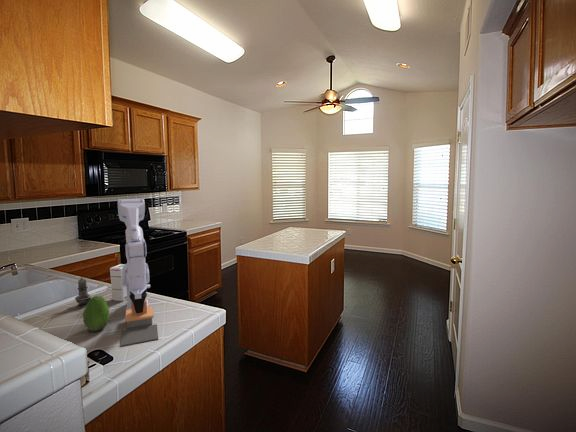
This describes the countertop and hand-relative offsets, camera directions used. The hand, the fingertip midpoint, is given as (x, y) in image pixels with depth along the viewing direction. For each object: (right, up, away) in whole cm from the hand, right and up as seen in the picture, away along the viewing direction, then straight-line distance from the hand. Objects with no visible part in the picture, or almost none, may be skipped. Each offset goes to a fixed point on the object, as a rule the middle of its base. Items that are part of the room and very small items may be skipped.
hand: (139, 310), depth 117 cm
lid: (0, -1, 0) cm, 1 cm away
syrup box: (-18, -2, +23) cm, 29 cm away
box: (0, -4, +1) cm, 4 cm away
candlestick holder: (-30, -2, +15) cm, 34 cm away
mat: (+4, -6, -8) cm, 11 cm away
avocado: (-12, -5, -5) cm, 14 cm away
